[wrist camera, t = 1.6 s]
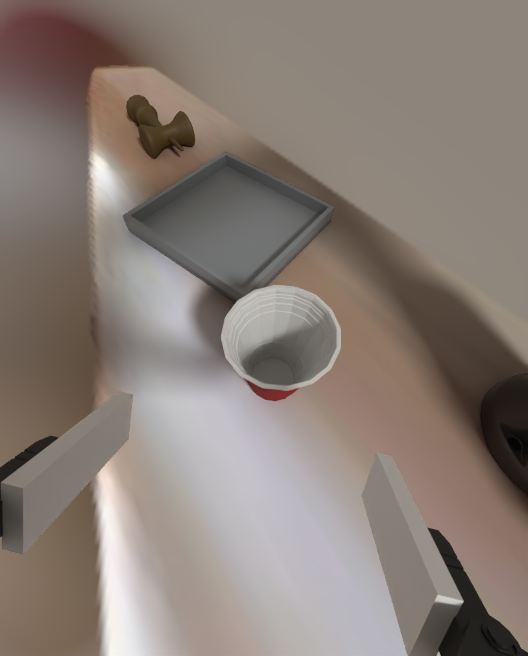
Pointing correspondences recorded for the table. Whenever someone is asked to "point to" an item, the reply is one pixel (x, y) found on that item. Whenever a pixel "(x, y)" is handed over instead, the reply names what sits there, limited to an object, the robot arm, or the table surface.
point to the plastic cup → (280, 339)
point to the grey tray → (230, 224)
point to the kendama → (159, 127)
